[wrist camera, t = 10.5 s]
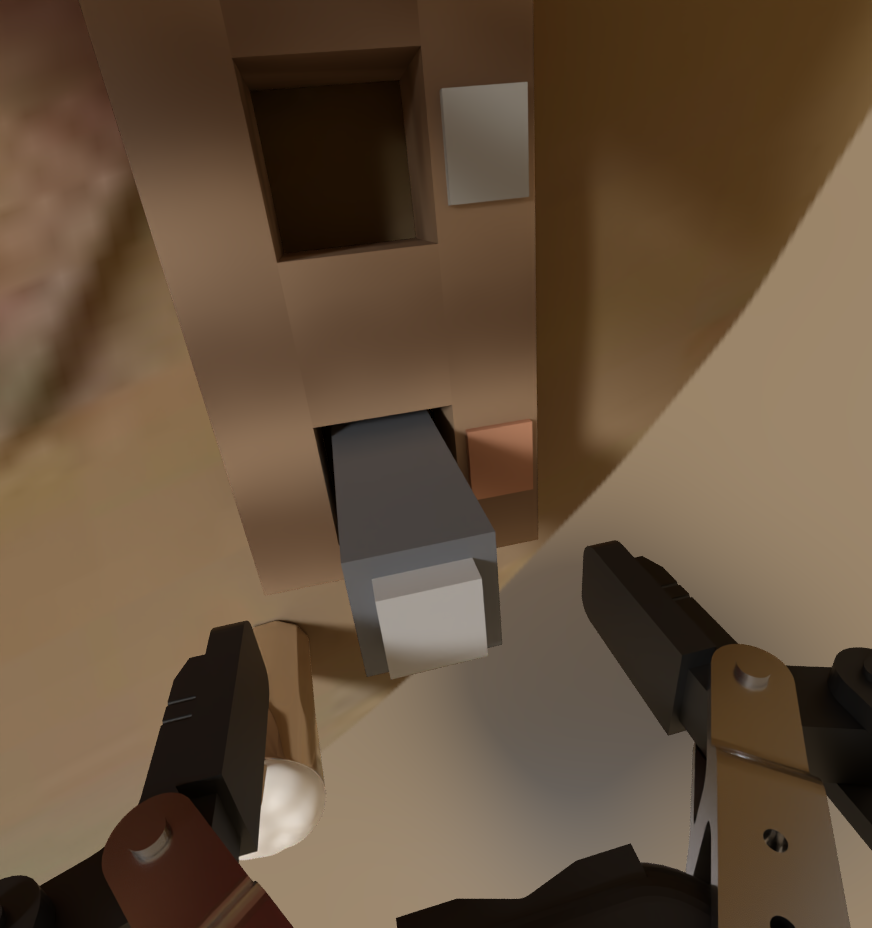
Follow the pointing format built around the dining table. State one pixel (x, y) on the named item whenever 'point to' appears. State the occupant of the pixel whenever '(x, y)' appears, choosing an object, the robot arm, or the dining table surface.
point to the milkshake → (289, 742)
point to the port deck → (342, 268)
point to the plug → (413, 547)
